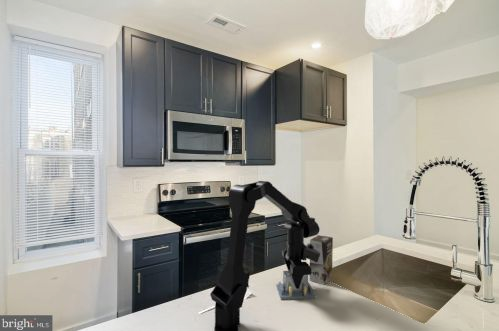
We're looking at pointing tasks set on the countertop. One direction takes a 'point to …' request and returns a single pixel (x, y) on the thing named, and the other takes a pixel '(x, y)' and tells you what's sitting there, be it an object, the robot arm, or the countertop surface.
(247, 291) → the fork
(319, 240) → the coffee box
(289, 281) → the block
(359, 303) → the countertop surface
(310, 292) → the tray
